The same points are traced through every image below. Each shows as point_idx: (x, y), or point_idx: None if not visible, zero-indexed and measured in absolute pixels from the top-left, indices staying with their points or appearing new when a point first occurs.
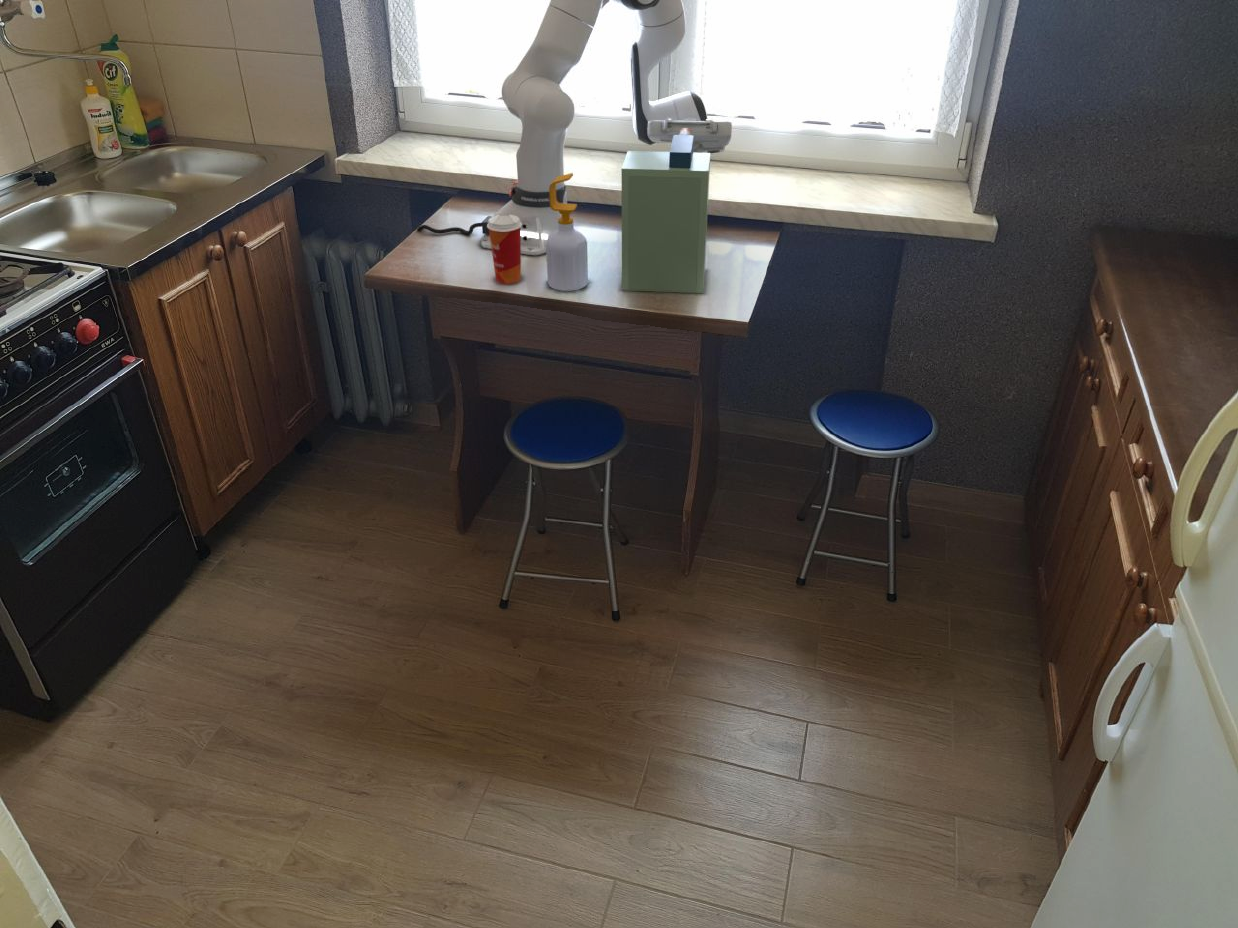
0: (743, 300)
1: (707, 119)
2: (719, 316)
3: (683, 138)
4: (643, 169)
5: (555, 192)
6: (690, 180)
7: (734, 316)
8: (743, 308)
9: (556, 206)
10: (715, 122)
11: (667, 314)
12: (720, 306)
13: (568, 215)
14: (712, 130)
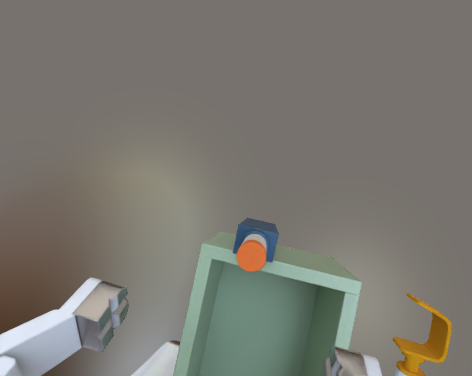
0: (141, 370)
1: (115, 286)
2: None
3: (258, 226)
4: (303, 251)
5: (443, 341)
6: None
7: (168, 348)
8: (151, 357)
9: (427, 349)
10: (11, 330)
11: None
12: (174, 366)
13: (405, 357)
14: (41, 370)
